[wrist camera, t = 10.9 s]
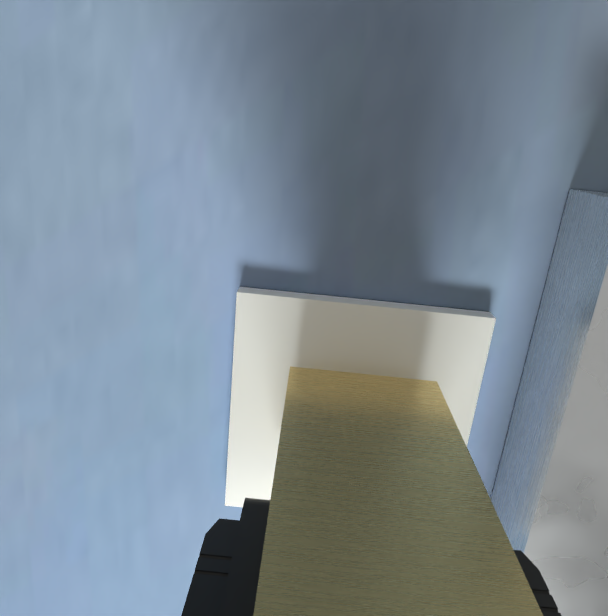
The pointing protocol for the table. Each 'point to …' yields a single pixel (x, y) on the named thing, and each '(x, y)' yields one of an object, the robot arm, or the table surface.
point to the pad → (339, 363)
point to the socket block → (565, 421)
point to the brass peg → (381, 508)
